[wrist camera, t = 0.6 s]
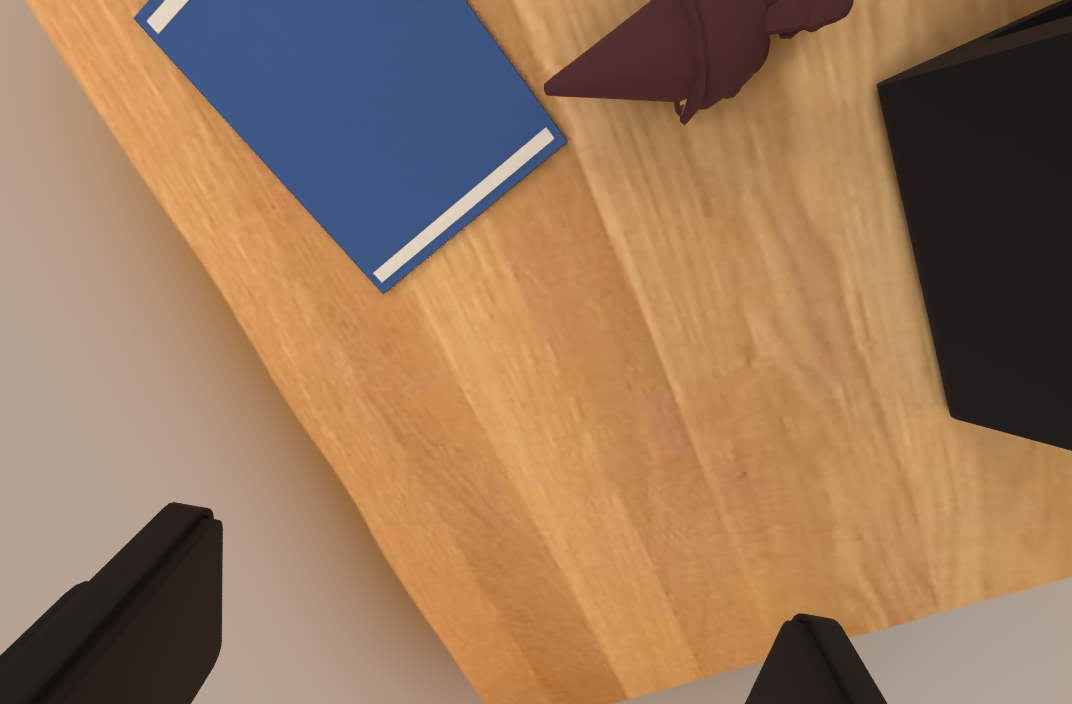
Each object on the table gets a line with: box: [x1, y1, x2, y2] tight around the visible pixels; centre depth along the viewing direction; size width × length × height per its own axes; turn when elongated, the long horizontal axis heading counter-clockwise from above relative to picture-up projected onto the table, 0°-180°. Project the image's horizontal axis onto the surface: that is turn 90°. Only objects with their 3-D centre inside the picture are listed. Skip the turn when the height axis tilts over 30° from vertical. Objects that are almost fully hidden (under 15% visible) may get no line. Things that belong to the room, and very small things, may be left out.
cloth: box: [134, 0, 567, 294], centre depth 33 cm, size 15×20×1 cm
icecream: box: [544, 0, 853, 125], centre depth 29 cm, size 7×7×15 cm
